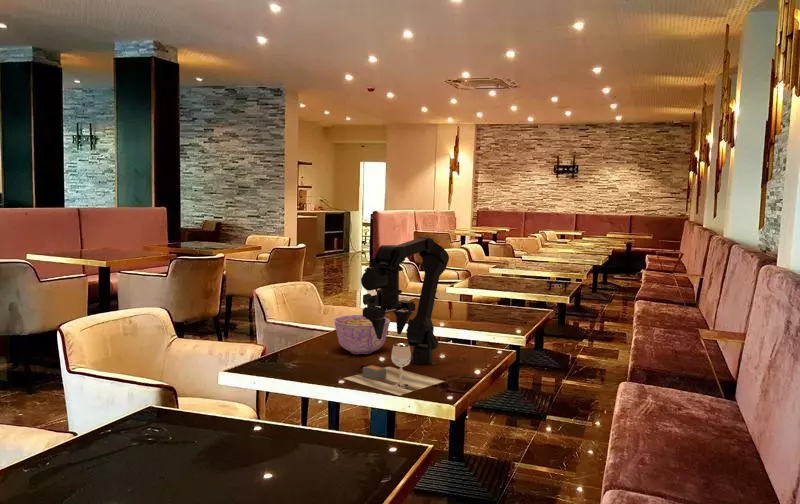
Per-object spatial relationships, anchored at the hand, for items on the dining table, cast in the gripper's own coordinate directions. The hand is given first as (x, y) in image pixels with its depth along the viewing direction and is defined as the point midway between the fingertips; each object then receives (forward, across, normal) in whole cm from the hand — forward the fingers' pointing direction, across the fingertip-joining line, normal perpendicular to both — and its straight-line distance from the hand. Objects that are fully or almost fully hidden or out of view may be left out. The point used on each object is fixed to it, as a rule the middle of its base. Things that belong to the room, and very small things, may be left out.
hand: (389, 336), depth 202 cm
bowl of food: (+13, -17, -28) cm, 35 cm away
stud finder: (+12, +7, 0) cm, 13 cm away
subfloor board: (+12, +4, +6) cm, 14 cm away
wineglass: (+12, +8, +11) cm, 18 cm away
